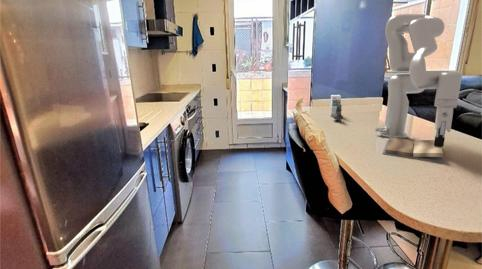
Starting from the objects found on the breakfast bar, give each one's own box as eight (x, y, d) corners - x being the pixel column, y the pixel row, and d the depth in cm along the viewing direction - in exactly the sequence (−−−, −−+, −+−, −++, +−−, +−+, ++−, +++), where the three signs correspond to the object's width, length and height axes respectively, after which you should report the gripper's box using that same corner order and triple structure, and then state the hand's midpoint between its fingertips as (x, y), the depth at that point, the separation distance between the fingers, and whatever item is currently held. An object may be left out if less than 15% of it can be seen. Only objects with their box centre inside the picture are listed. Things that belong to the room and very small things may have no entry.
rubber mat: (382, 153, 122) (382, 153, 121) (387, 140, 139) (387, 139, 139) (444, 163, 110) (444, 162, 110) (441, 147, 128) (441, 146, 128)
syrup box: (330, 116, 192) (332, 95, 188) (329, 114, 198) (330, 94, 194) (339, 116, 191) (341, 95, 187) (337, 115, 197) (339, 94, 193)
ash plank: (413, 156, 116) (413, 153, 116) (414, 143, 133) (414, 140, 132) (443, 156, 111) (442, 152, 111) (440, 143, 127) (440, 139, 127)
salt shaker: (335, 119, 183) (336, 101, 180) (344, 121, 180) (345, 102, 176) (331, 121, 179) (333, 103, 175) (340, 122, 175) (342, 103, 172)
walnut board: (385, 152, 122) (385, 149, 121) (389, 140, 138) (390, 137, 138) (411, 156, 117) (412, 153, 116) (413, 143, 133) (413, 140, 133)
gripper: (459, 106, 106) (451, 152, 111) (455, 101, 118) (447, 142, 123) (435, 105, 110) (428, 149, 114) (433, 100, 122) (427, 140, 127)
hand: (438, 145), depth 119 cm, fingers closed
